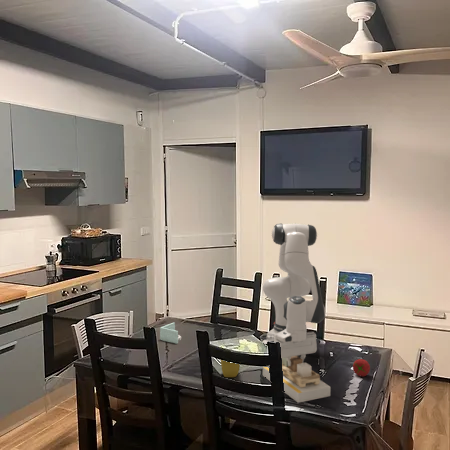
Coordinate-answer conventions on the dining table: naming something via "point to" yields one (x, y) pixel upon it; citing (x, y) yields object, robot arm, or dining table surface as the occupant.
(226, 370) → the flower pot
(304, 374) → the block
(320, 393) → the dock
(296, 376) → the wooden block holder
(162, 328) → the l-shaped corner panel
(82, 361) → the dining table surface
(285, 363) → the block
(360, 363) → the tomato
